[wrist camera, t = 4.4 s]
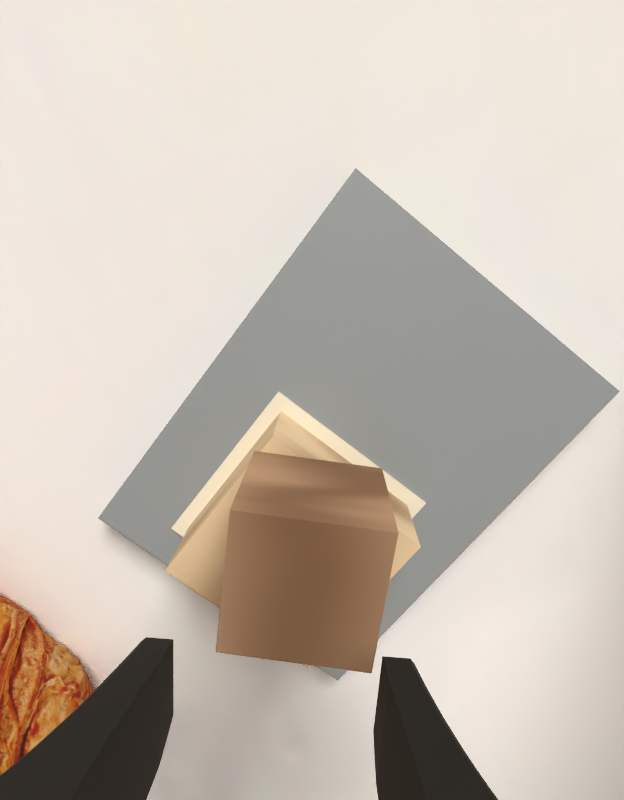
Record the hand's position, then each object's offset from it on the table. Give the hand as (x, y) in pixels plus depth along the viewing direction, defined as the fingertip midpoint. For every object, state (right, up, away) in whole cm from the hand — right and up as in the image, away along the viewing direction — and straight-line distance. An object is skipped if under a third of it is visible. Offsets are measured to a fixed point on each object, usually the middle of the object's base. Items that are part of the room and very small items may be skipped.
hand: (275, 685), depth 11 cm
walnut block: (+1, +3, +5) cm, 6 cm away
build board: (+2, +4, +9) cm, 10 cm away
